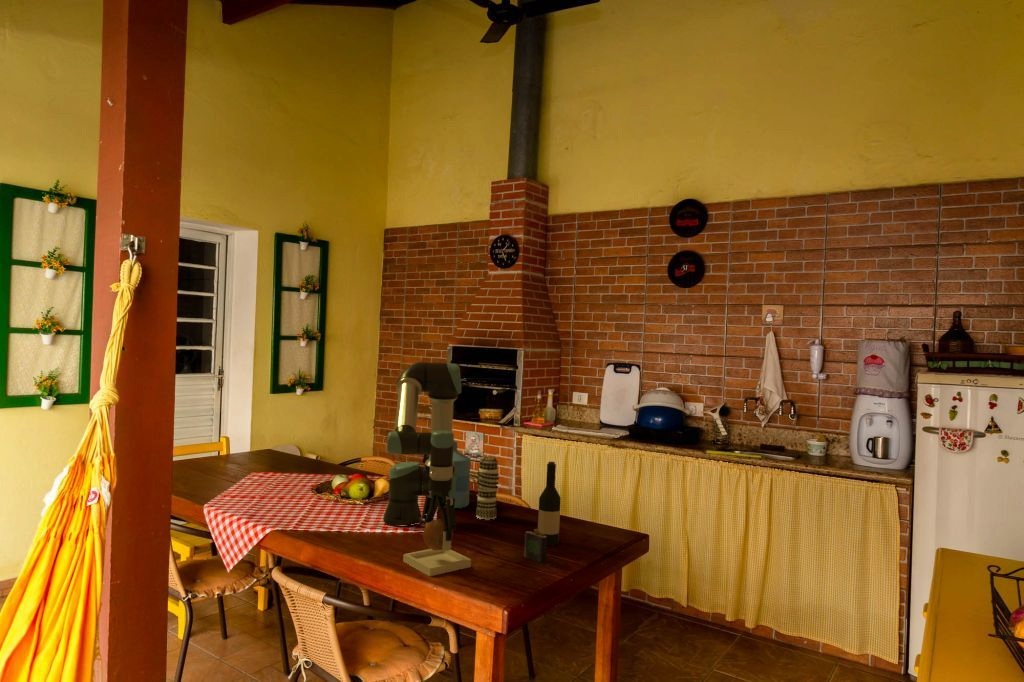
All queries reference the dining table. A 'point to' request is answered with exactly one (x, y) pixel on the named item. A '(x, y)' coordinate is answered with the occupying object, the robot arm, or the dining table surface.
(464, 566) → the dish
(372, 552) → the dining table surface
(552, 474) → the wine bottle
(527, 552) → the flask
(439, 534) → the onion
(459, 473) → the water jug
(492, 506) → the decorative candle
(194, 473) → the dining table surface
